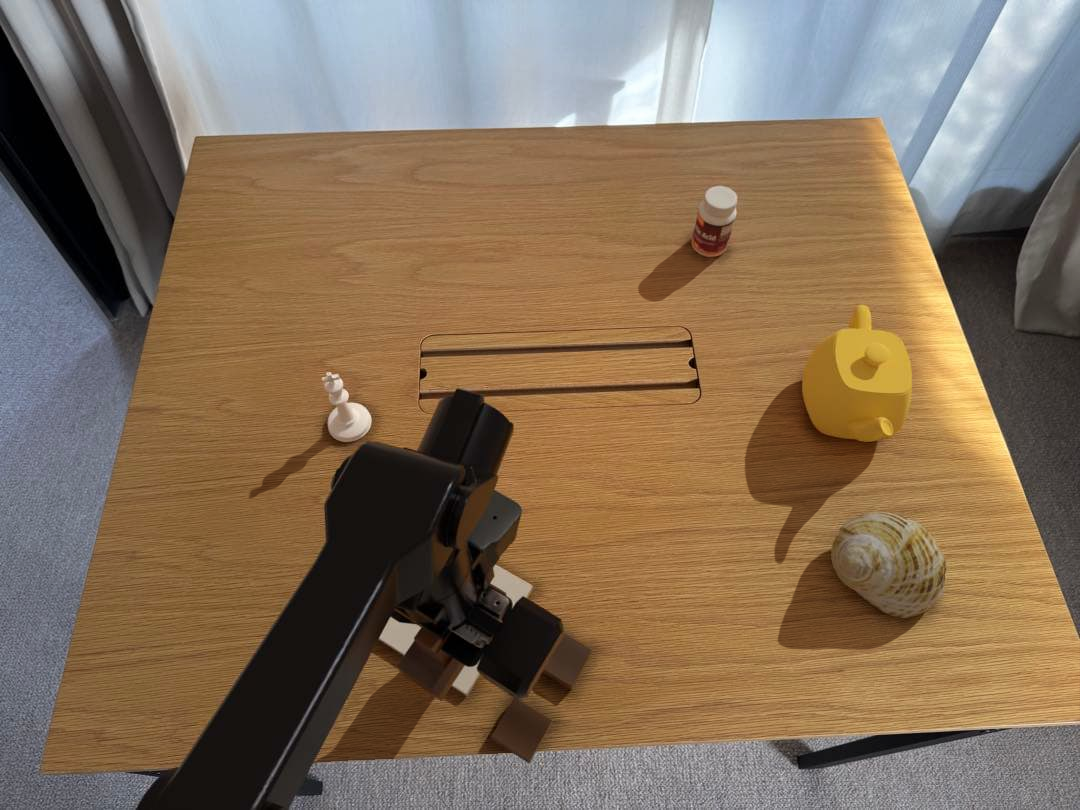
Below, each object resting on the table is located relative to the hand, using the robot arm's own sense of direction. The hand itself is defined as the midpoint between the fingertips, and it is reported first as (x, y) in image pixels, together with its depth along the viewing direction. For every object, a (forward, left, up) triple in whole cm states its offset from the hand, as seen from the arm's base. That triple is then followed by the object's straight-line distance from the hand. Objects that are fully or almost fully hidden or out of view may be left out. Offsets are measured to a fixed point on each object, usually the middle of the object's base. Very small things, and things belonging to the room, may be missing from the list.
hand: (452, 628), depth 65 cm
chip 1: (-3, -8, -10) cm, 13 cm away
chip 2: (+5, -8, -10) cm, 14 cm away
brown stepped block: (0, 0, -3) cm, 3 cm away
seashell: (+28, -31, -10) cm, 43 cm away
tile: (+3, +7, -10) cm, 12 cm away
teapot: (+45, -22, -10) cm, 51 cm away
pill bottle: (+61, +2, -10) cm, 62 cm away
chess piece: (+15, +26, -10) cm, 32 cm away
